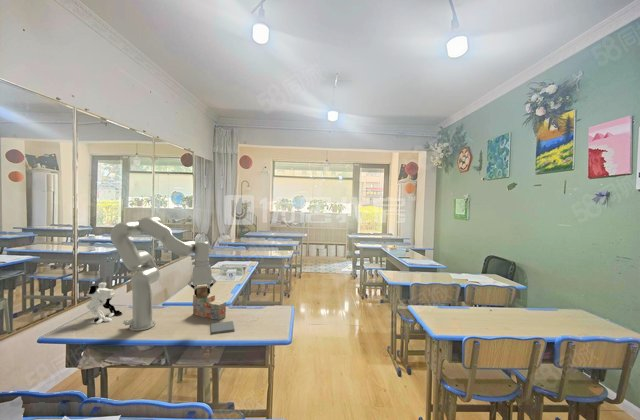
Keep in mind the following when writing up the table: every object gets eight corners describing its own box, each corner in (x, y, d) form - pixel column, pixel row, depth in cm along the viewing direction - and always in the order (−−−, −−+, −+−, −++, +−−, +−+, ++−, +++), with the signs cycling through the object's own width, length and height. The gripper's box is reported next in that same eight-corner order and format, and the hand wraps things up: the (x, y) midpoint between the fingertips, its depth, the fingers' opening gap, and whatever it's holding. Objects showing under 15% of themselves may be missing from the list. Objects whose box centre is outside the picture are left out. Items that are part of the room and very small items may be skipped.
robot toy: (105, 324, 170) (104, 289, 170) (80, 324, 170) (79, 289, 170) (126, 312, 189) (126, 280, 189) (104, 312, 189) (103, 280, 188)
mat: (211, 333, 160) (211, 332, 160) (211, 325, 171) (211, 323, 171) (234, 330, 164) (234, 329, 164) (232, 322, 176) (232, 320, 176)
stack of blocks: (225, 317, 184) (226, 297, 184) (218, 320, 179) (218, 300, 178) (200, 311, 193) (200, 292, 193) (192, 314, 188) (192, 294, 187)
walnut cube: (196, 298, 165) (196, 288, 165) (197, 295, 170) (197, 286, 170) (207, 297, 167) (207, 287, 167) (207, 294, 172) (207, 285, 172)
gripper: (184, 266, 162) (185, 299, 162) (218, 263, 168) (218, 295, 168) (185, 263, 169) (186, 295, 169) (217, 261, 175) (218, 292, 175)
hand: (202, 295), depth 169 cm, fingers closed on walnut cube, 5 cm apart
